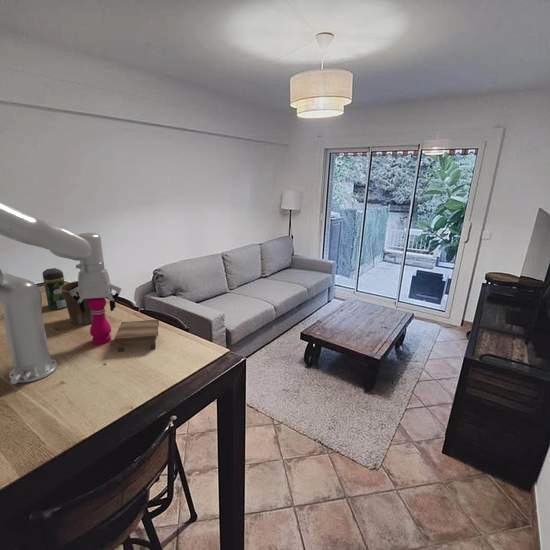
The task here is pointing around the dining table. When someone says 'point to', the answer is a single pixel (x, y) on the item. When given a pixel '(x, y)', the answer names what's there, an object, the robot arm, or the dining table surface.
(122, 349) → the wooden stool
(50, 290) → the coffee jar
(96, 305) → the pepper mill
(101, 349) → the dining table surface
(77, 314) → the plant pot
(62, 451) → the dining table surface
